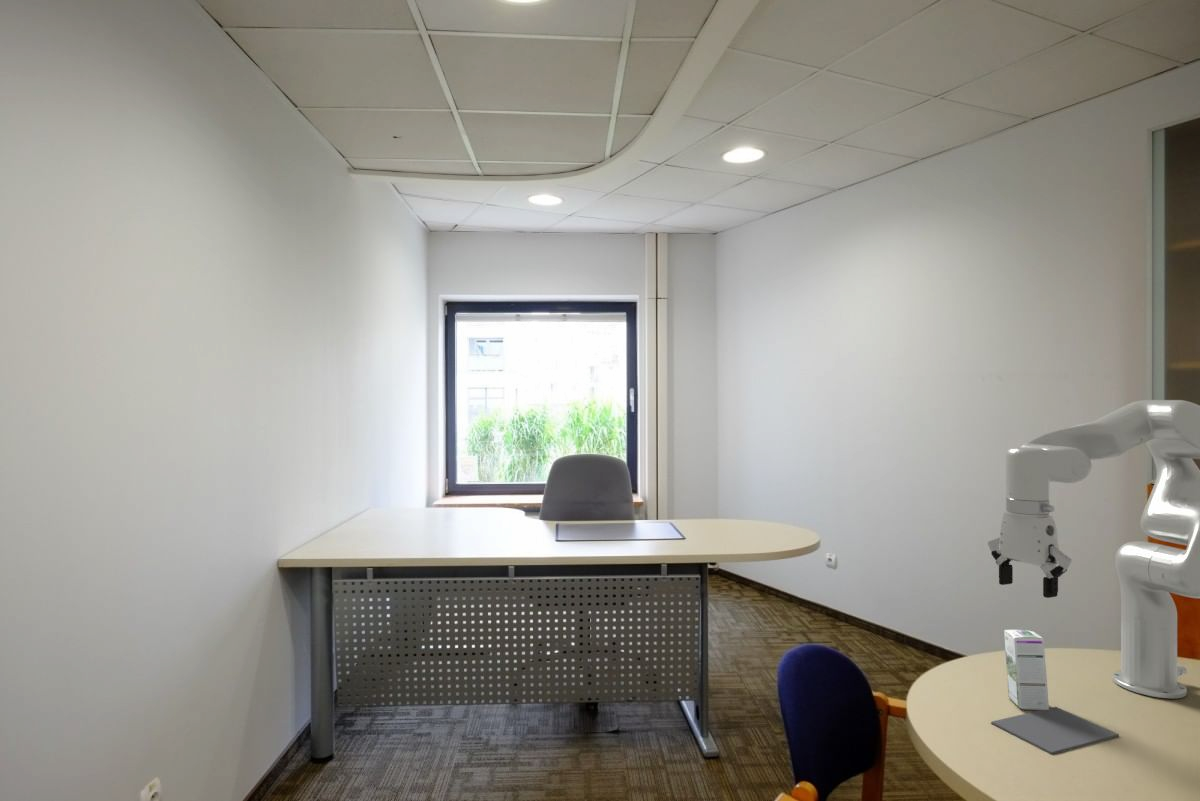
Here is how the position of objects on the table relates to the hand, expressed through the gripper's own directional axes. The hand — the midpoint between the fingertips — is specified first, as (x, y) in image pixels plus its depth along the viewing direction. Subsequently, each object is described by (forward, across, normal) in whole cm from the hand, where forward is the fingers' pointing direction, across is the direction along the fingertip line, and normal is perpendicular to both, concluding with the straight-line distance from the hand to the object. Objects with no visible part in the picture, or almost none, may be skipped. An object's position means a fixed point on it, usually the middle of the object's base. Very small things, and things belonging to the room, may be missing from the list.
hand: (1027, 590), depth 138 cm
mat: (+24, -9, +5) cm, 26 cm away
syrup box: (+24, 0, 0) cm, 24 cm away
